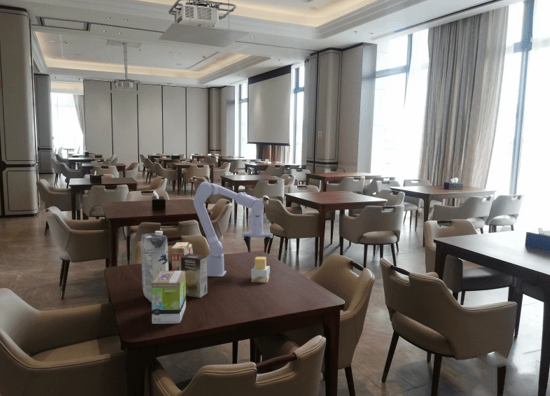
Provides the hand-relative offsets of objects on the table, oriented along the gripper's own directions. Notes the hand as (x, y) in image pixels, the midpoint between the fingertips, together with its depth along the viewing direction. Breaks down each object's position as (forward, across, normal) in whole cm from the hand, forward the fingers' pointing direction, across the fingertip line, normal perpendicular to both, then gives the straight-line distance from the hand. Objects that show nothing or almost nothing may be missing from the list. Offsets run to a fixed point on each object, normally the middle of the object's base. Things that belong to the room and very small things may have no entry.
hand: (257, 252), depth 208 cm
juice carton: (+10, -34, -40) cm, 53 cm away
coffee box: (+10, -20, -34) cm, 41 cm away
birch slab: (+10, +4, -11) cm, 16 cm away
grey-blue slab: (+7, +4, -11) cm, 14 cm away
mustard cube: (+4, +4, -11) cm, 12 cm away
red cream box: (+10, -39, +5) cm, 41 cm away
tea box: (+10, -22, -57) cm, 62 cm away
